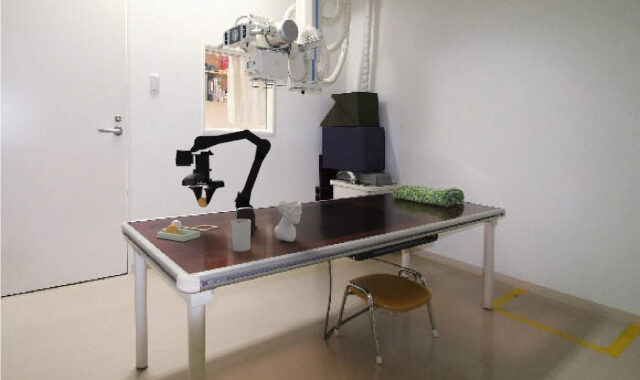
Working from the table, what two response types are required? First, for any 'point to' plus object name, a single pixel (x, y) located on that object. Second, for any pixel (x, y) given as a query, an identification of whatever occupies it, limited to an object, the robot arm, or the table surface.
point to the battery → (246, 216)
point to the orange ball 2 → (202, 202)
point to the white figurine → (288, 220)
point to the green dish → (179, 235)
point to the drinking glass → (241, 234)
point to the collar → (204, 226)
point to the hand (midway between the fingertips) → (203, 203)
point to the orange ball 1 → (172, 229)
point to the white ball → (176, 223)
